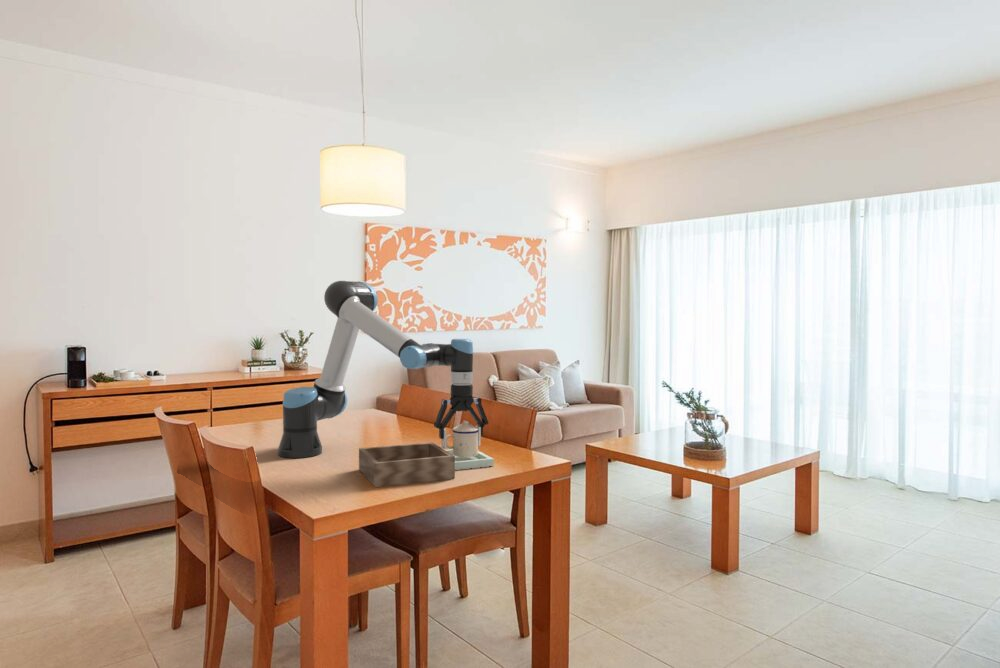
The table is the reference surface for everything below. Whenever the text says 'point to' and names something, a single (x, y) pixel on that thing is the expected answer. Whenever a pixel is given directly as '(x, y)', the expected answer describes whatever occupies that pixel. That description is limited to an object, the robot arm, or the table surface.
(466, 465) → the tray
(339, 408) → the robot arm
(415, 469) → the deep box
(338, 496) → the table surface
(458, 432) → the teacup with lid
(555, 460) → the table surface
